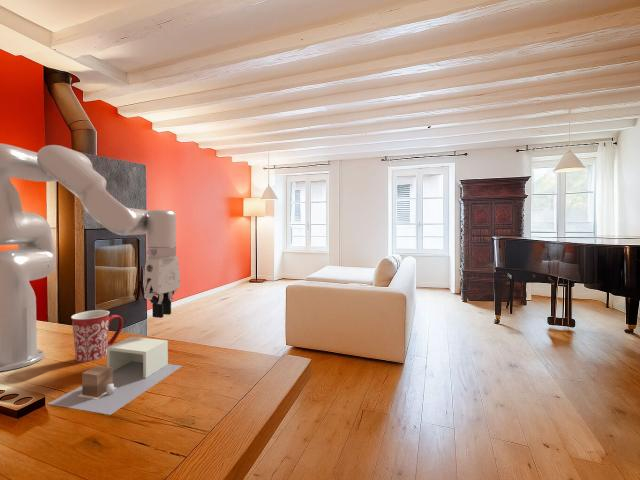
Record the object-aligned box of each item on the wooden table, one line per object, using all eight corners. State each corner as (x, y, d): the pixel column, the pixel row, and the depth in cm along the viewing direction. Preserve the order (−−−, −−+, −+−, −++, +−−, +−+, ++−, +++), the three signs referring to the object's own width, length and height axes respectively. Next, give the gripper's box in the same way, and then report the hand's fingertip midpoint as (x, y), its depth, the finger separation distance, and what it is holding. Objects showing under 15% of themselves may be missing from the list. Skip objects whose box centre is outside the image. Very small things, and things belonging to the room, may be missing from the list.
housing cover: (107, 372, 81) (106, 347, 81) (131, 359, 89) (131, 336, 89) (146, 378, 79) (145, 351, 79) (167, 364, 87) (167, 340, 86)
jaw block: (97, 397, 70) (97, 375, 70) (82, 394, 71) (82, 372, 71) (112, 388, 74) (112, 367, 74) (98, 386, 75) (98, 365, 74)
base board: (47, 409, 67) (47, 394, 67) (132, 363, 90) (132, 352, 90) (110, 420, 64) (110, 405, 64) (182, 370, 86) (182, 358, 86)
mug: (77, 370, 85) (76, 320, 84) (67, 360, 91) (67, 314, 90) (128, 355, 95) (128, 311, 94) (117, 348, 100) (117, 306, 100)
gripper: (152, 255, 83) (153, 325, 84) (190, 251, 99) (190, 309, 99) (128, 254, 84) (128, 322, 85) (169, 250, 100) (169, 307, 101)
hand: (161, 315), depth 92 cm, fingers open, 2 cm apart
